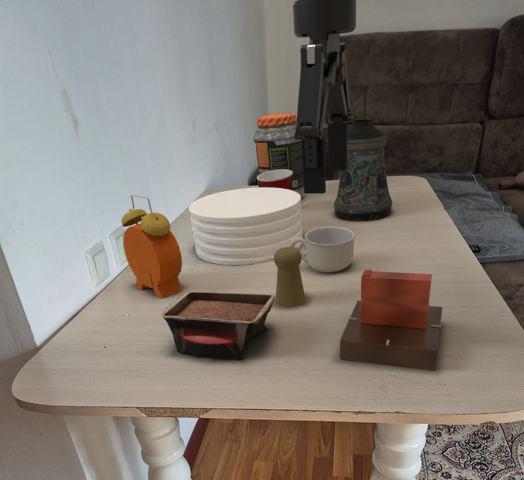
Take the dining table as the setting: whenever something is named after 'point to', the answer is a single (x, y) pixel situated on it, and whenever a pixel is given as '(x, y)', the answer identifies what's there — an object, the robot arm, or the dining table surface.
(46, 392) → the dining table surface
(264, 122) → the supplement tub
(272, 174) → the plastic cup
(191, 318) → the baking dish
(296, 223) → the plate stack
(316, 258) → the teacup
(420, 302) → the orange-red rectangular block
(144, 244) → the alarm clock
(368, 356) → the brown square platform
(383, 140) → the beer stein
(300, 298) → the olive pepper shaker
